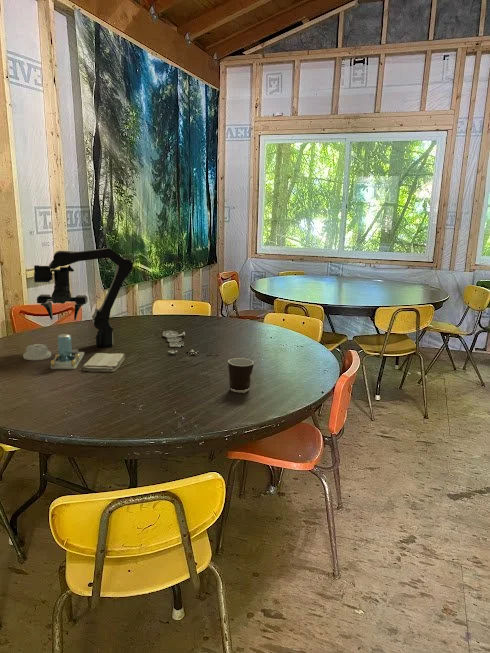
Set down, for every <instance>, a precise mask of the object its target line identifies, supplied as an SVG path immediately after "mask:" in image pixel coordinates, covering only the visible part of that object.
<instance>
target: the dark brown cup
mask: <svg viewBox="0 0 490 653" xmlns="http://www.w3.org/2000/svg"><path fill="white" fill-rule="evenodd" d="M254 363H255V362H254V361H253V360H252V359H248V358H242V357H237V358H235V357H234V358H231V359H228V361H227V365H228V379H229V380H228V382H229V389H230V388H232V389H235V390H245V389H248V388H249V389H250V386H251V381H252V374H253V371H254Z"/></svg>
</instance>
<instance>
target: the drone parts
mask: <svg viewBox="0 0 490 653" xmlns="http://www.w3.org/2000/svg"><path fill="white" fill-rule="evenodd" d="M162 336H163V337H164V338H165V339H167V342H169V347H170V348H171V347H174V348H176V347H178V348H182V347H181V345H182V346H184V347H185V342H182V337H180V336H186V333H185V331H183V332H182V333H181V334H179V332H178V331H175V330H165V331H163V332H162ZM179 341H181V342H182V343H180V342H179ZM167 352H168V353H170V354H171V355H172V354H173V355H175V353H178V350H174V349H172V350H167ZM189 352H195V350H194V349H191V350H190V351H189ZM197 352H198V351H196V352H195V353H196V354H198V353H197Z"/></svg>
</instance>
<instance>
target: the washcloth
mask: <svg viewBox="0 0 490 653" xmlns="http://www.w3.org/2000/svg"><path fill="white" fill-rule="evenodd" d="M125 359H126V354H125V353H118V352H117V353H116V352H115V353H104V352H103V353H102V352H100V353H99V352H96V353H94V354H93V355H92V357H90V359H88V361H86V362H85V363H84V364H83V365H82V367H83V370H82V371H83V372H85V371H87V372H93V373H97V372H99V373H100V372H101V373H114V372H115V371H116V370H118V368H119V367H121V366H120V365H122V363H123V362H124V360H125Z"/></svg>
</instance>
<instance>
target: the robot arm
mask: <svg viewBox="0 0 490 653" xmlns="http://www.w3.org/2000/svg"><path fill="white" fill-rule="evenodd" d="M52 257H53V258H52V260H51V262H50V263H49V264H48V265H39V264H38V265H37V264H34V266H33V269H34V271H33V277H34V278H33V281H34V283H37V284H38V283H50V281H53V280H54V285H53V292H52V293H51V294H46V293H45V294H39V295H38V296H37V297H36V304H40V306H43V307H44V308H45V310H46V312H47V314H48V316H49V318H50V320H51V321H53V318H54V316H53V315H54V314H53V305H52V303H53V304H65V303H68V302H69V303H70V302H72V303H75V304H74V314H73V315H74V317H73V320H74V321H77V317H78V314H79V311H80V309H81V307H83V306H84V305H86V304H87V303H88V302H89V301H88V296H87V295H81V294H79V295H76V296H75V297H74V296H72V292H71V284H70V283H71V282H70V273H73V272H74V271H75V269H74V268H73V267H71V265H72V264H75V263H77V262H83V261H92V260H99V259H109V260H110V261H111V262H113V263H114V264H115V265H116V266H115V269H114V270H115V272H114V275H113V276H114V277H113V280H112V281H111V284H110V287H109V288H108V290H107V293H106V295H105V298H104V299H103V302H102V304H101V306H100V307H99V309H97V308H95V309H94V312H93V314H92V316H91V318H92V323H93V326H94V328H95V329H97V332H96V334H95V344H96V348H112V347H113V346H114V344H115V342H114V328H113V325H112V324H111V323H110V322H109V321H110V316H111V311H112V308H113V305H114V303H115V301H116V299H117V297H118V294H119V292H120V290H121V287H122V285H123V283H124V281H125V280H126V279H127V278H128V276H129V275H130V274H131V272H132V270H133V269H134V265H133V262H132V260H130V259H129V258H126V257H122V256H121V255H119V254H117V252H115V251H114V250H113V249H112V248H111V247H104V248H98V249H90V250H81V251H71V250H58V251H56V252H55V253H54V254H53V256H52ZM57 268H58V269H57Z"/></svg>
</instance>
